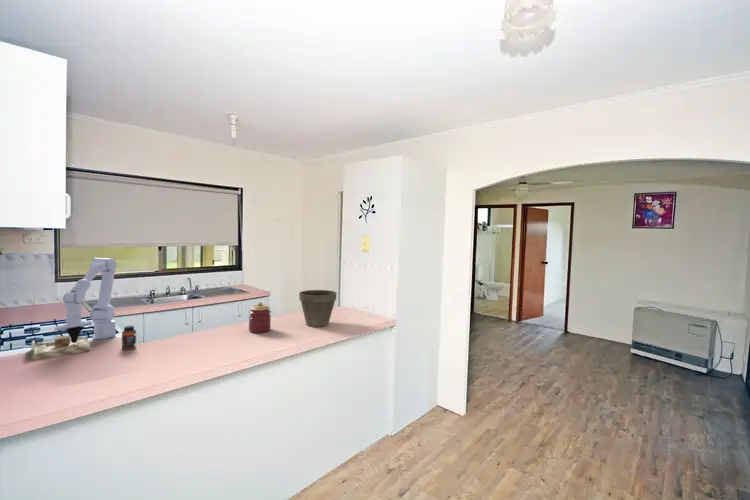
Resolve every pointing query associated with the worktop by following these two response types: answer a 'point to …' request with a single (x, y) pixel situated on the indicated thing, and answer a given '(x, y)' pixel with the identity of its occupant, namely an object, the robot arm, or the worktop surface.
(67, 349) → the box
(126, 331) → the supplement bottle
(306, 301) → the plant pot
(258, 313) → the canister
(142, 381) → the worktop surface
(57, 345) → the walnut block
